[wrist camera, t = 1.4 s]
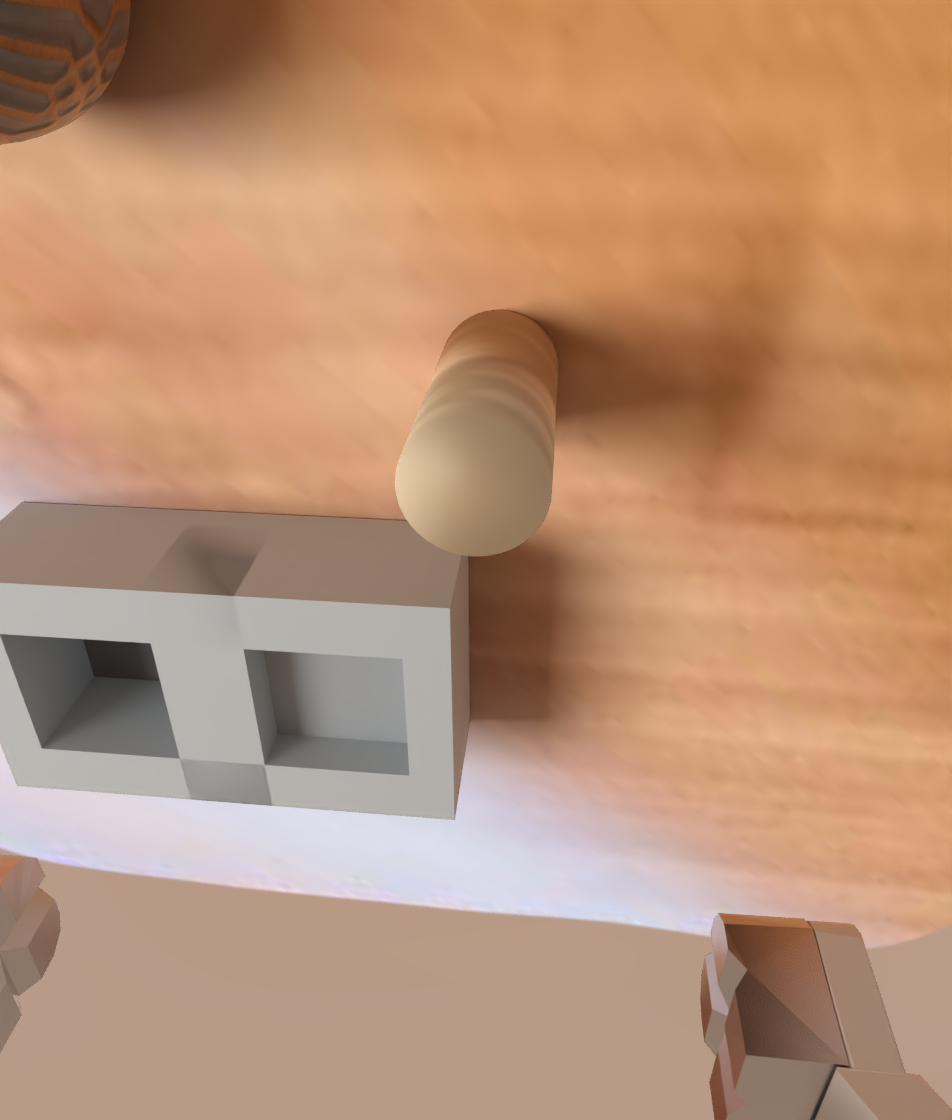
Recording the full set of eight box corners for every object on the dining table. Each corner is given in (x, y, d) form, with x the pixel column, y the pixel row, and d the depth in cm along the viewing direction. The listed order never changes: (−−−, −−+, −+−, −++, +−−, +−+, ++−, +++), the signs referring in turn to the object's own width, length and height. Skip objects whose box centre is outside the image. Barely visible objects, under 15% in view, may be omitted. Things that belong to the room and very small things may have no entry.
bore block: (468, 523, 30) (449, 608, 25) (469, 721, 34) (454, 820, 30) (22, 502, 31) (-67, 579, 27) (83, 694, 36) (17, 786, 31)
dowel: (561, 311, 25) (555, 418, 19) (555, 425, 27) (548, 560, 21) (439, 308, 26) (391, 412, 19) (442, 421, 28) (398, 552, 21)
